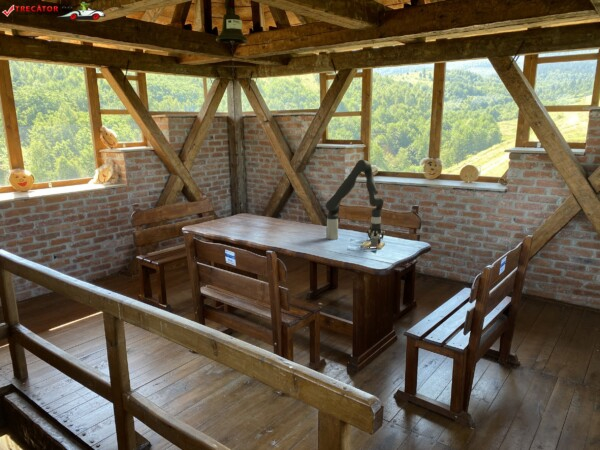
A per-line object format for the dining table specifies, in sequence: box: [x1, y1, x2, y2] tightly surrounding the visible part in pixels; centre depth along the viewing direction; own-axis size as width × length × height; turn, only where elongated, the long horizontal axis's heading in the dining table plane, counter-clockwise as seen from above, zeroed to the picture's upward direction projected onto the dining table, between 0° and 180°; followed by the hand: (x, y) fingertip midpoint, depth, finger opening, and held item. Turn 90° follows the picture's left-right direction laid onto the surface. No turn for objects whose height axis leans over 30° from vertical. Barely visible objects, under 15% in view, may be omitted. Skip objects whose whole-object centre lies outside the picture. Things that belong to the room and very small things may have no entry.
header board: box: [360, 240, 386, 250], centre depth 350 cm, size 16×15×5 cm
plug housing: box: [370, 236, 379, 246], centre depth 348 cm, size 5×11×5 cm, turn 157°
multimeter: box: [366, 215, 384, 242], centre depth 366 cm, size 15×10×20 cm
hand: (375, 243), depth 349 cm, fingers closed on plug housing, 4 cm apart
